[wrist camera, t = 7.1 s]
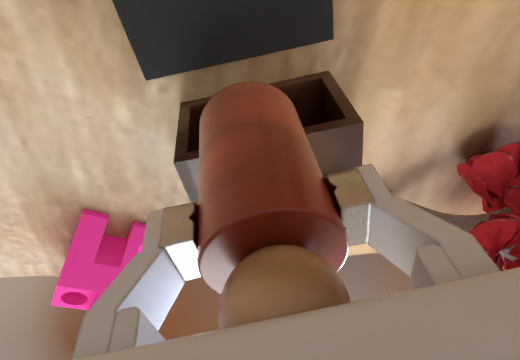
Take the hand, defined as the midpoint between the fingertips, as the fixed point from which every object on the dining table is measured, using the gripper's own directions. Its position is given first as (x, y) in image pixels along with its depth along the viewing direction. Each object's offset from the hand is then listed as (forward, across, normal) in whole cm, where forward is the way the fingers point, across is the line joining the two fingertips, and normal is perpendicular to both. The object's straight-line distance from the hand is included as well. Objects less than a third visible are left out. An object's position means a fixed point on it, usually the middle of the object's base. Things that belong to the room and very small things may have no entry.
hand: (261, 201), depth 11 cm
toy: (+5, 0, 0) cm, 5 cm away
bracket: (+28, +25, +30) cm, 47 cm away
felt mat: (+27, 0, 0) cm, 27 cm away
